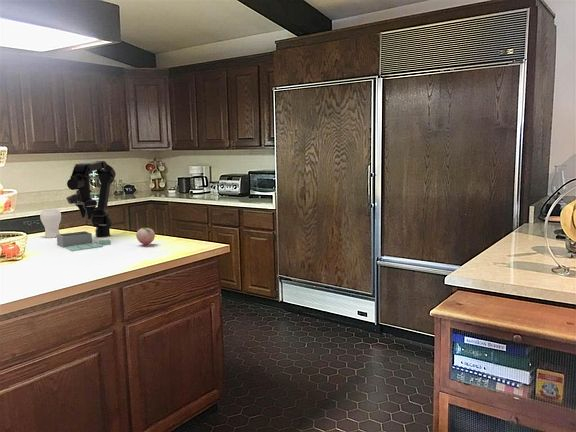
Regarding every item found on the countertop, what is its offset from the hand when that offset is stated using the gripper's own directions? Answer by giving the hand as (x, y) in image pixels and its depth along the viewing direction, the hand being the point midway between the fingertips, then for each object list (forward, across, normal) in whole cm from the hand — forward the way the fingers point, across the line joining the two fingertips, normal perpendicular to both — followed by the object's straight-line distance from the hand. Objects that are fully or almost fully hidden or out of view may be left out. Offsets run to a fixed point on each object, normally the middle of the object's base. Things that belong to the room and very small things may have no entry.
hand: (86, 218), depth 247 cm
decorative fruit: (+13, +27, +20) cm, 36 cm away
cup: (+13, -35, -8) cm, 38 cm away
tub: (+13, +2, -7) cm, 15 cm away
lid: (+13, +14, -4) cm, 20 cm away
